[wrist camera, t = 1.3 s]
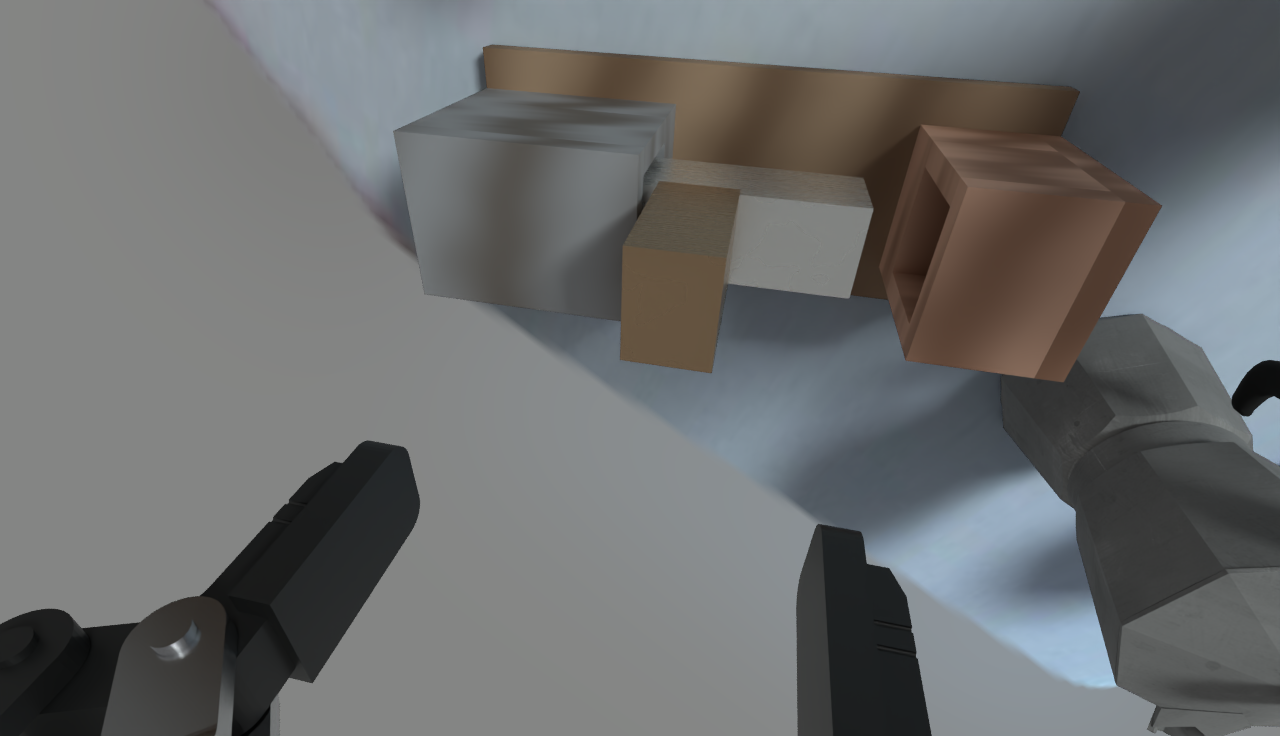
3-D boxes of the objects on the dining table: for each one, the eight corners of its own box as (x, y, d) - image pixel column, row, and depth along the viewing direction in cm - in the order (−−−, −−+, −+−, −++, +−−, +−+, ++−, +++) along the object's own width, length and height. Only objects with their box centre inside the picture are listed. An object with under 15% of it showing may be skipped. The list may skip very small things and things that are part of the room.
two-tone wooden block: (864, 172, 24) (900, 278, 16) (841, 264, 26) (863, 395, 18) (471, 134, 26) (339, 211, 19) (481, 221, 29) (368, 322, 21)
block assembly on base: (1070, 86, 24) (1194, 147, 17) (980, 302, 30) (1043, 418, 23) (491, 44, 28) (383, 79, 20) (510, 244, 34) (431, 328, 26)
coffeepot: (1125, 490, 35) (1365, 875, 20) (954, 462, 36) (1066, 805, 22) (1309, 241, 26) (1970, 613, 11) (1073, 216, 27) (1399, 520, 13)
